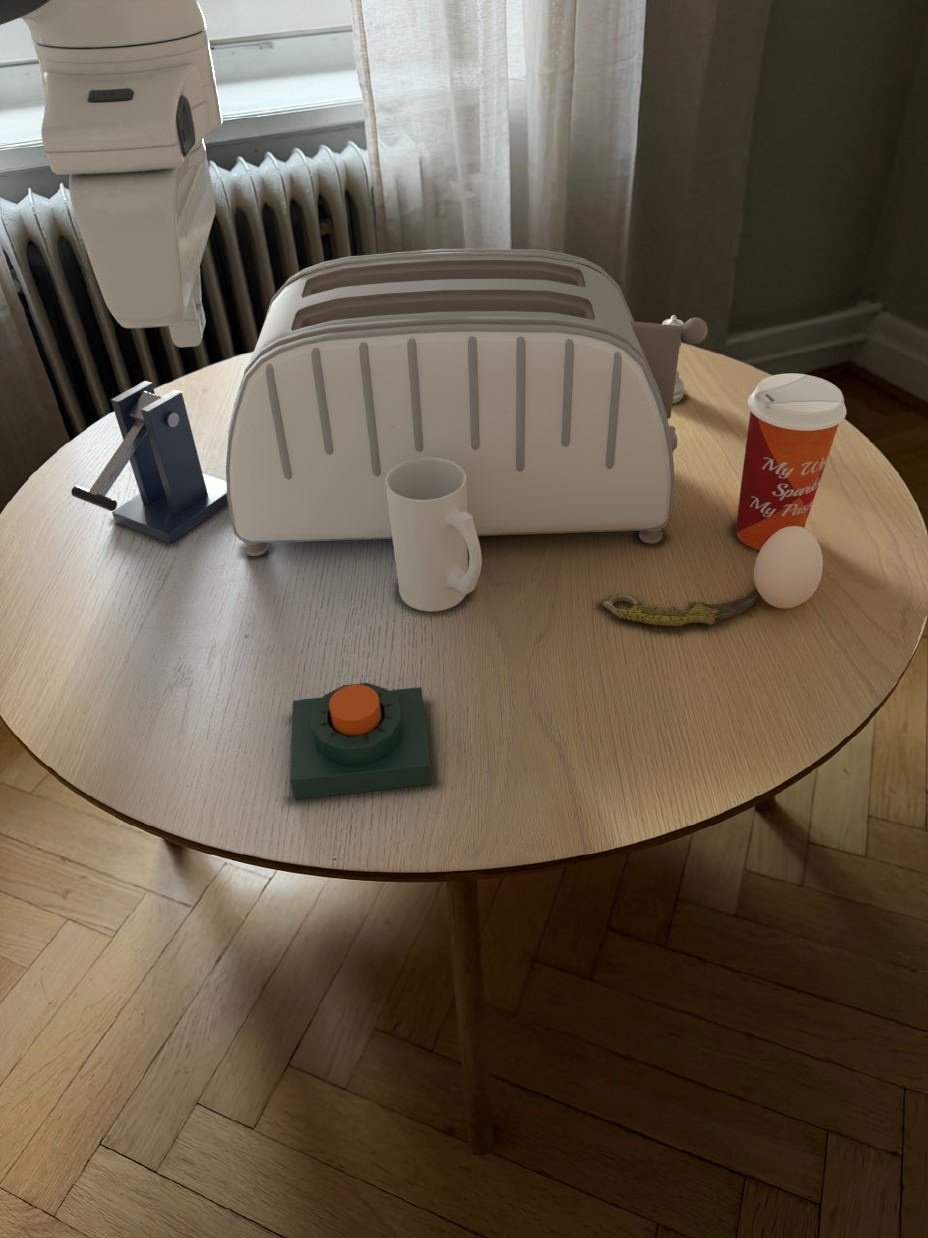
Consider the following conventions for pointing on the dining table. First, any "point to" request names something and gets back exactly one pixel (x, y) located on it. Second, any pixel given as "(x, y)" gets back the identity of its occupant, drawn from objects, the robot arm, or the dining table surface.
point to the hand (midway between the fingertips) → (190, 337)
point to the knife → (677, 617)
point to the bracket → (166, 469)
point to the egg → (788, 567)
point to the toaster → (455, 397)
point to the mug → (432, 533)
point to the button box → (359, 747)
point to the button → (355, 710)
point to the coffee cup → (785, 452)
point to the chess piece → (678, 382)
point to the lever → (118, 459)
